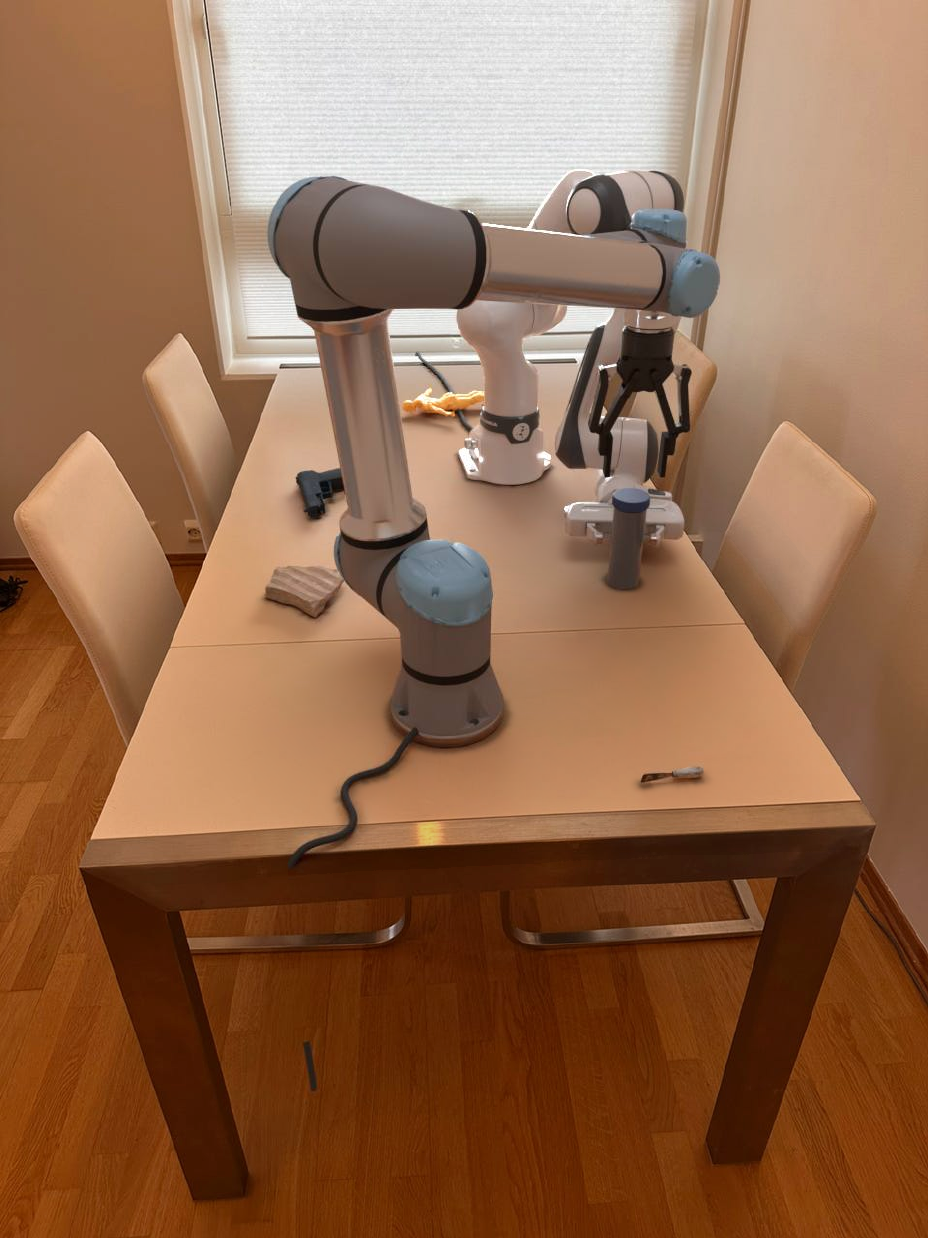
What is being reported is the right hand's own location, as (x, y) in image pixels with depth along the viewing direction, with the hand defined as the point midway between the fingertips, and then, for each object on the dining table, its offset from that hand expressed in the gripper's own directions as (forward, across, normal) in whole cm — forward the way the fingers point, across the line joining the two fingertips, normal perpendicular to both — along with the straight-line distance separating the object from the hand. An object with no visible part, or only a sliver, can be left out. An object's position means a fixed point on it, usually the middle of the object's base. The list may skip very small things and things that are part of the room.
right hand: (626, 541), depth 149 cm
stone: (+11, -53, +7) cm, 54 cm away
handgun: (-28, -57, +6) cm, 64 cm away
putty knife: (+51, +3, +7) cm, 52 cm away
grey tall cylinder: (+2, 0, +7) cm, 7 cm away
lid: (+2, 0, -9) cm, 9 cm away
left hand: (+2, 0, -13) cm, 13 cm away
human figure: (-83, -38, +6) cm, 92 cm away
